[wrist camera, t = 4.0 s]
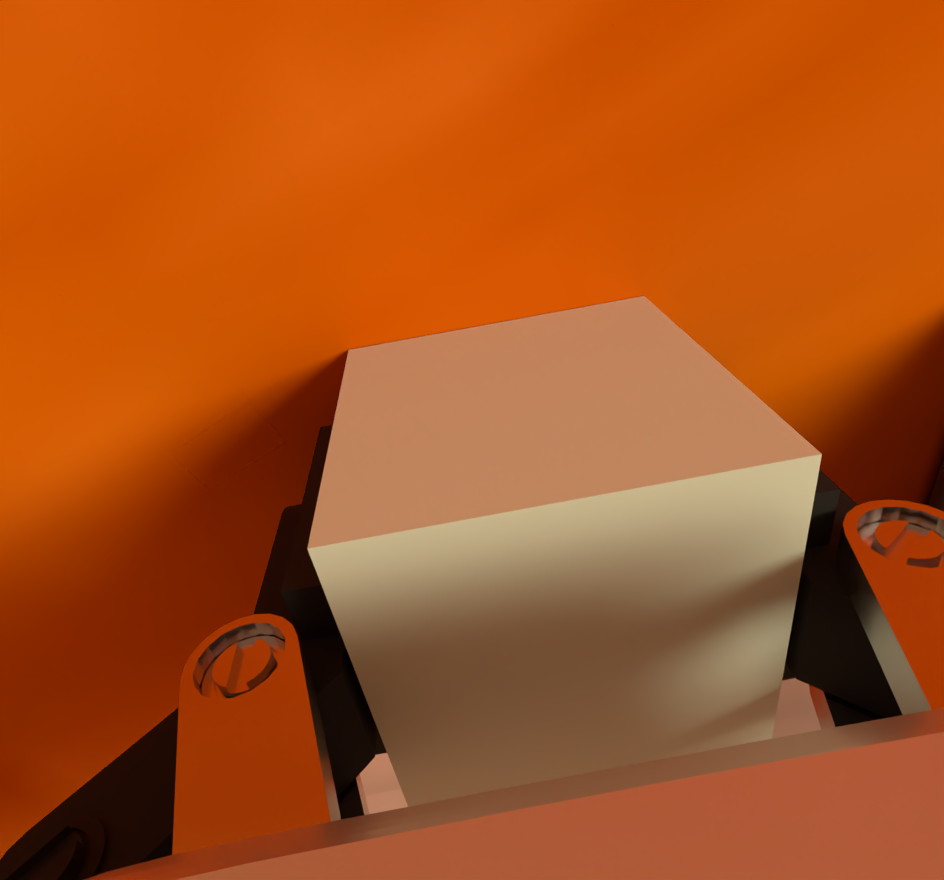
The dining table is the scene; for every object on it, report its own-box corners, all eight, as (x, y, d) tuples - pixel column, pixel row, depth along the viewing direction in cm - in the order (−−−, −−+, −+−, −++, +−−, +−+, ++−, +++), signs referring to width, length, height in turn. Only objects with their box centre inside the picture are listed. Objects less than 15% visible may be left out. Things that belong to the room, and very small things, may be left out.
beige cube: (644, 296, 10) (821, 453, 6) (645, 526, 13) (768, 754, 8) (348, 350, 10) (307, 549, 6) (410, 570, 13) (413, 820, 8)
